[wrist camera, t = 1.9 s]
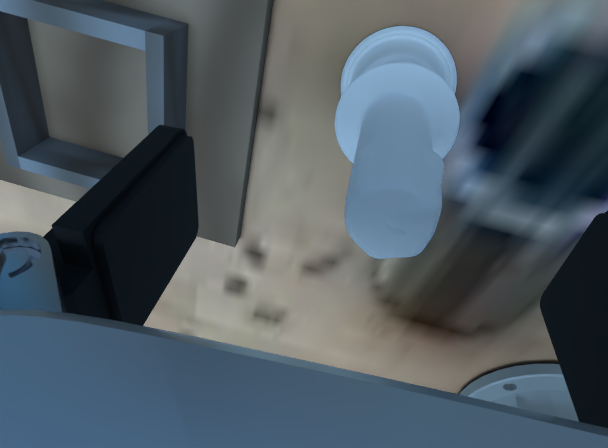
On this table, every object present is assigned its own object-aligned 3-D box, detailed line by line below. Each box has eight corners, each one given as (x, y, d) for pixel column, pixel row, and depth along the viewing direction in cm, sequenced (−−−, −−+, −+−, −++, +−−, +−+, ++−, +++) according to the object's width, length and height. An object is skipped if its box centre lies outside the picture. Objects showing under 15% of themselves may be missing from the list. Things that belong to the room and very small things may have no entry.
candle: (427, -1, 18) (452, 95, 8) (474, 108, 20) (535, 282, 10) (320, 64, 20) (244, 196, 11) (372, 155, 22) (347, 331, 13)
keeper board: (280, -48, 18) (256, -42, 15) (240, 237, 28) (221, 273, 25) (-74, -140, 18) (-160, -151, 16) (9, 171, 28) (-35, 199, 25)
